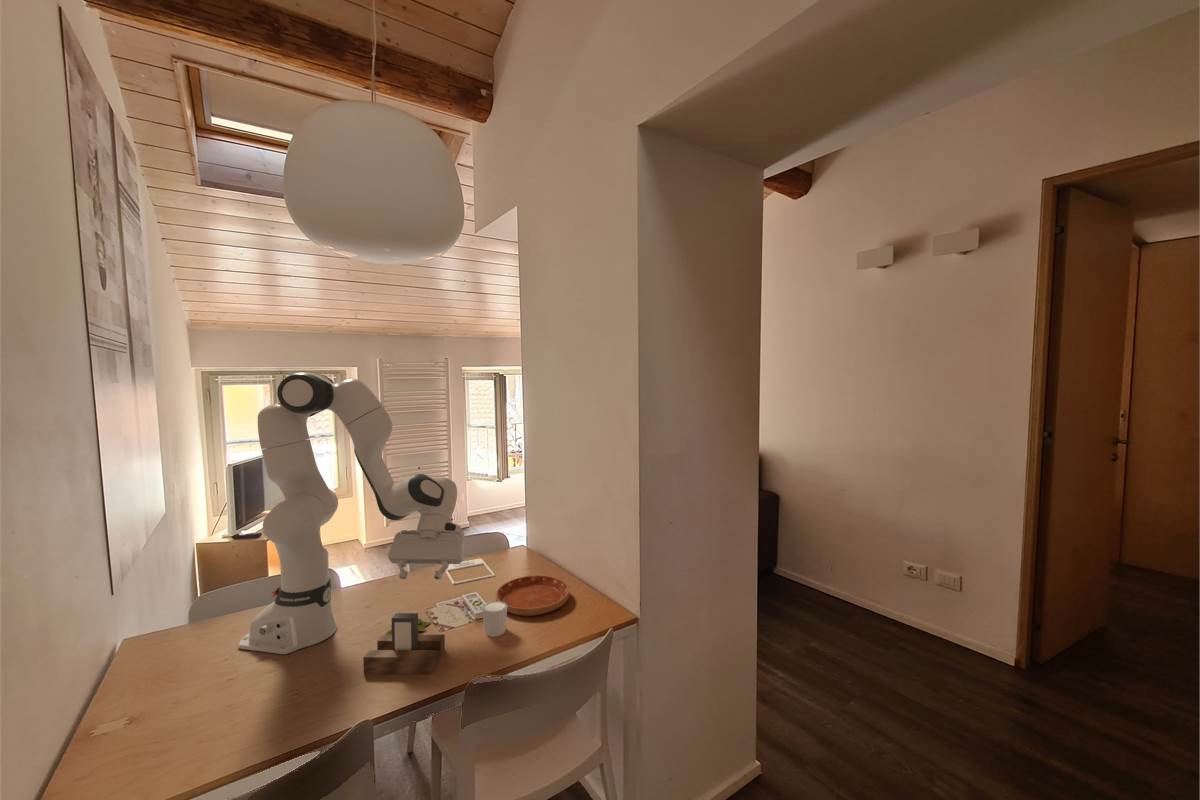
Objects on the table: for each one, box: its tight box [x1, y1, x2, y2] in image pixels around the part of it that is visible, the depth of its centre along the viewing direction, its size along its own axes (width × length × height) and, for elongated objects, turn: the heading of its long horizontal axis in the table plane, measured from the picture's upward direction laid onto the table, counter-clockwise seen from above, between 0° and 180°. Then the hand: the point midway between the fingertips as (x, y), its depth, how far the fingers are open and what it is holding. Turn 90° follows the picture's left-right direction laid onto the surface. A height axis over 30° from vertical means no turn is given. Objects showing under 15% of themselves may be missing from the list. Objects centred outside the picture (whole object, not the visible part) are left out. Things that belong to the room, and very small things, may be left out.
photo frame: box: [444, 557, 496, 586], centre depth 172 cm, size 15×1×18 cm
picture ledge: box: [362, 633, 446, 675], centre depth 117 cm, size 16×10×4 cm, turn 90°
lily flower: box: [385, 618, 433, 634], centre depth 132 cm, size 12×12×5 cm
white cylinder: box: [481, 600, 508, 638], centre depth 131 cm, size 7×7×7 cm
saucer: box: [495, 575, 570, 617], centre depth 149 cm, size 23×23×4 cm
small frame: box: [391, 612, 419, 650], centre depth 117 cm, size 6×3×10 cm, turn 90°
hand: (419, 578), depth 126 cm, fingers open, 8 cm apart
